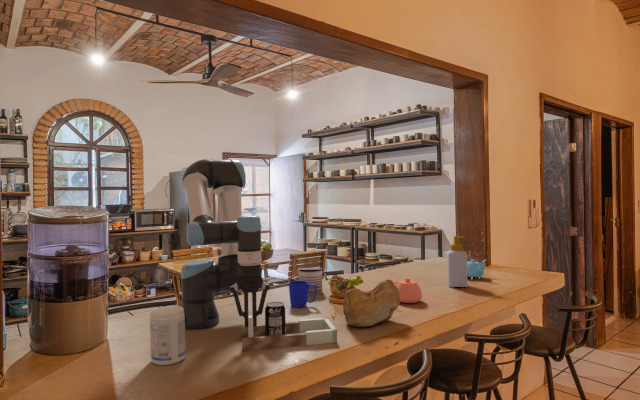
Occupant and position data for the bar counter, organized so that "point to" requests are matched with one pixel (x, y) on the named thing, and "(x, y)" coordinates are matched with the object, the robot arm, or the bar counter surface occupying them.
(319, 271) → the can
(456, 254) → the soap bottle
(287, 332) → the trough
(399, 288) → the sugar bowl
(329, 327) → the pale grey box
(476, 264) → the teapot
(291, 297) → the mug
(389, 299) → the rough brown rock
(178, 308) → the supplement tub
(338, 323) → the bar counter surface
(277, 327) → the beverage can
